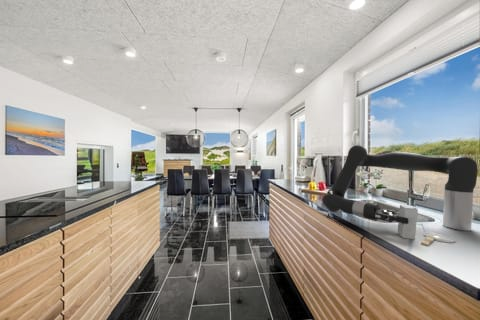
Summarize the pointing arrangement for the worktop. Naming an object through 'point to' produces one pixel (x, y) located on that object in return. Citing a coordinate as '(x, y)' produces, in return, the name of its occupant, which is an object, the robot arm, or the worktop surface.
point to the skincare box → (409, 228)
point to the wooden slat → (427, 241)
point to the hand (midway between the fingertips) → (411, 219)
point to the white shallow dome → (440, 237)
